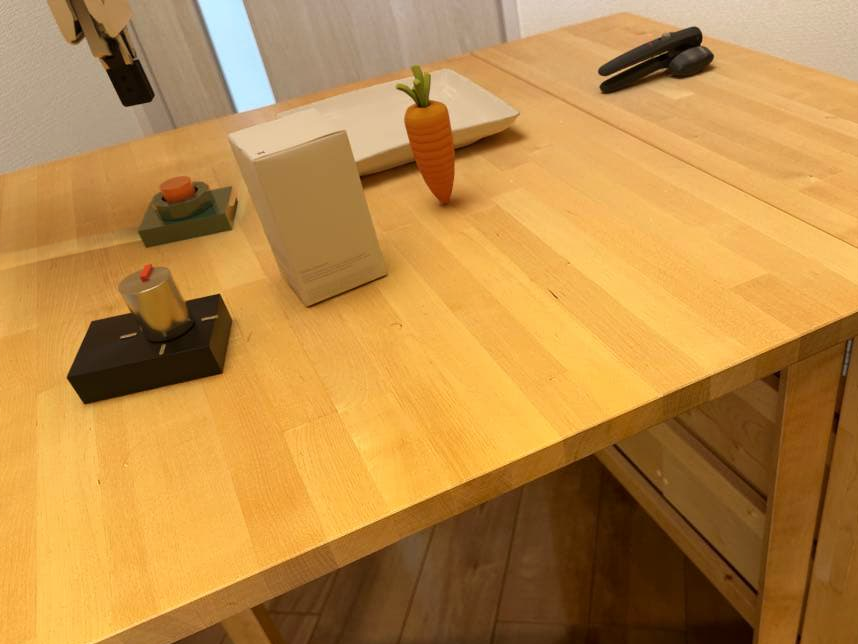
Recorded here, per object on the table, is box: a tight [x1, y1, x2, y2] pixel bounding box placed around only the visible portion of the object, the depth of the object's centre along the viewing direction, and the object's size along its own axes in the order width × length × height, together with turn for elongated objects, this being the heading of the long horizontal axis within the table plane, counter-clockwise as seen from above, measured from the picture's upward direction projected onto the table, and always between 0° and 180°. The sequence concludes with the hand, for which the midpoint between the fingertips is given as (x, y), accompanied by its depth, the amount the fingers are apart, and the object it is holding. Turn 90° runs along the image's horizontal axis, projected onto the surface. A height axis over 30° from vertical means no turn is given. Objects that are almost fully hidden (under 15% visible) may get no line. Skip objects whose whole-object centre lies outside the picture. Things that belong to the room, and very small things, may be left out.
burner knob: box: [117, 263, 194, 342], centre depth 67 cm, size 4×4×5 cm
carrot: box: [396, 64, 456, 205], centre depth 83 cm, size 5×5×15 cm
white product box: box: [227, 108, 388, 307], centre depth 74 cm, size 9×9×15 cm
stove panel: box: [66, 293, 233, 405], centre depth 69 cm, size 12×9×3 cm
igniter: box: [137, 181, 239, 249], centre depth 91 cm, size 10×8×4 cm
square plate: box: [275, 68, 521, 177], centre depth 104 cm, size 27×27×4 cm
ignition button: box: [158, 175, 196, 202], centre depth 89 cm, size 4×4×2 cm
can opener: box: [597, 25, 715, 93], centre depth 109 cm, size 18×7×6 cm, turn 114°
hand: (139, 101), depth 83 cm, fingers closed
